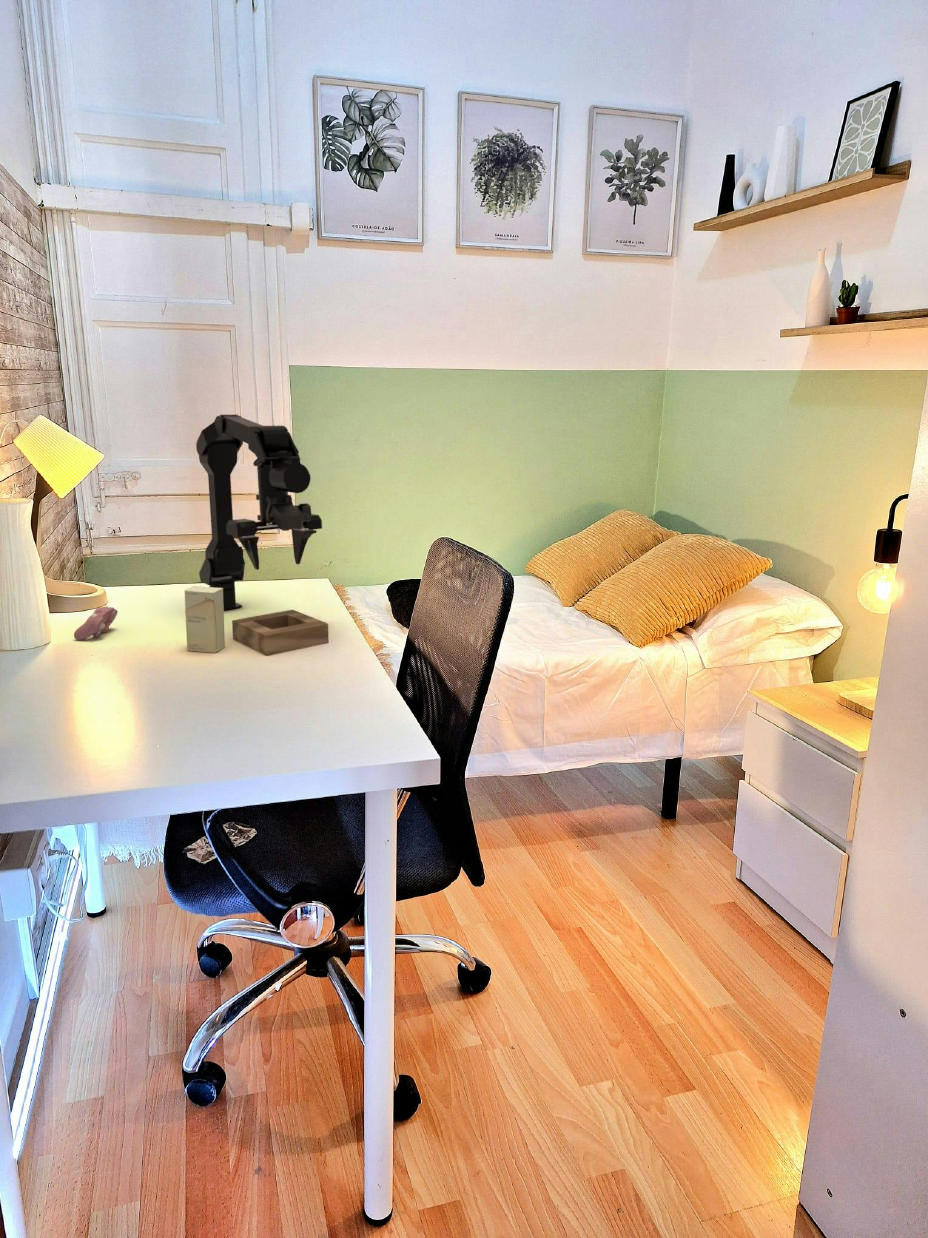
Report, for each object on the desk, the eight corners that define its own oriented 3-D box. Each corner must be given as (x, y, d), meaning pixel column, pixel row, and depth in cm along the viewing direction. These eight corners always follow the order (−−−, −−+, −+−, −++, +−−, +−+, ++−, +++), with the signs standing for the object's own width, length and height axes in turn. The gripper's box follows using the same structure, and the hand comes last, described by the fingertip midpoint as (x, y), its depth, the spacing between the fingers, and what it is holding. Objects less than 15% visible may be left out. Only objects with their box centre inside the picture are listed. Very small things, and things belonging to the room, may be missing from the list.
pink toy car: (91, 648, 169) (104, 619, 167) (70, 638, 168) (83, 608, 167) (112, 635, 178) (124, 607, 177) (92, 625, 178) (104, 597, 176)
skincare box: (186, 651, 163) (182, 590, 160) (197, 644, 168) (193, 585, 164) (217, 653, 162) (213, 592, 159) (227, 646, 167) (223, 587, 163)
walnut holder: (233, 639, 172) (231, 620, 171) (293, 627, 181) (292, 609, 180) (266, 655, 162) (265, 635, 160) (328, 642, 170) (328, 623, 169)
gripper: (247, 495, 156) (253, 578, 160) (334, 489, 168) (337, 566, 171) (222, 491, 164) (228, 570, 168) (306, 486, 176) (310, 559, 180)
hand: (277, 566), depth 172 cm, fingers open, 9 cm apart
